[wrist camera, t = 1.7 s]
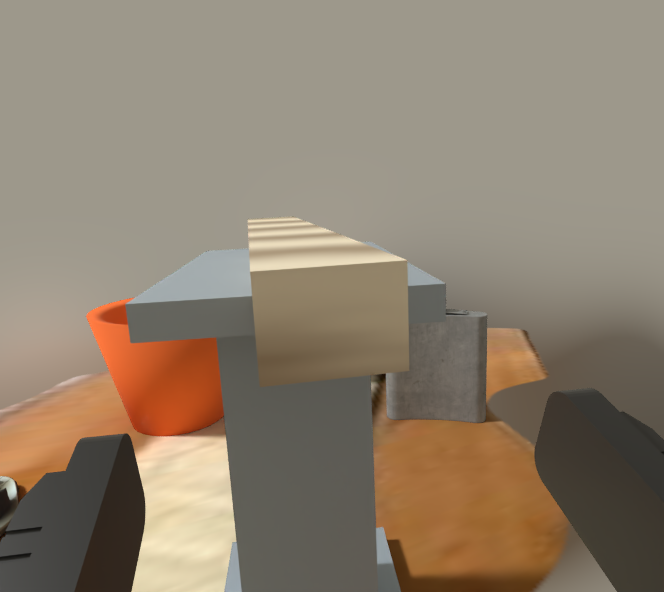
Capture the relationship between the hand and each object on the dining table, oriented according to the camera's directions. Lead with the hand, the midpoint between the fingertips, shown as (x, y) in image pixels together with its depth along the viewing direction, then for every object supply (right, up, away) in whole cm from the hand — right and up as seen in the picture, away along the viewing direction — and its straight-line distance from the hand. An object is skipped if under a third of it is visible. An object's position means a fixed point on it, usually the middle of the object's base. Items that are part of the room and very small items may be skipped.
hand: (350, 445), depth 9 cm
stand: (-2, -26, +33) cm, 42 cm away
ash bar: (-3, +4, +19) cm, 20 cm away
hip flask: (+17, -17, +72) cm, 76 cm away
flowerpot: (-27, -18, +78) cm, 84 cm away
